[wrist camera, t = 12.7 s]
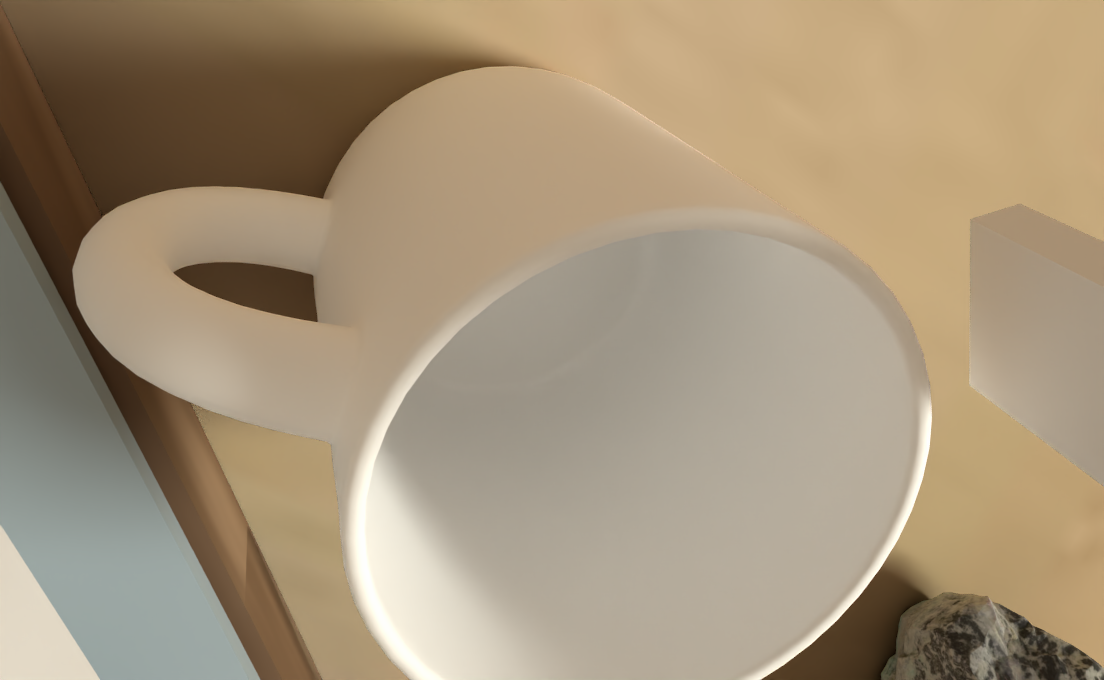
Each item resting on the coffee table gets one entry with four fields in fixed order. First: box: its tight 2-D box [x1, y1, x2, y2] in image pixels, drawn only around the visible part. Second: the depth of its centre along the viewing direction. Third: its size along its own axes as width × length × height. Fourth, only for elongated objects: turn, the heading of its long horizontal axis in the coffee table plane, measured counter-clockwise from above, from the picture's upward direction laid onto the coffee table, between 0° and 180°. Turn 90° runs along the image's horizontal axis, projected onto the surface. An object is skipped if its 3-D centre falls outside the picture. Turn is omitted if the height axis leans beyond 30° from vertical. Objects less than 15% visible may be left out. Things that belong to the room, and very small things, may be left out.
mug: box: [72, 66, 932, 680], centre depth 16 cm, size 12×8×10 cm
